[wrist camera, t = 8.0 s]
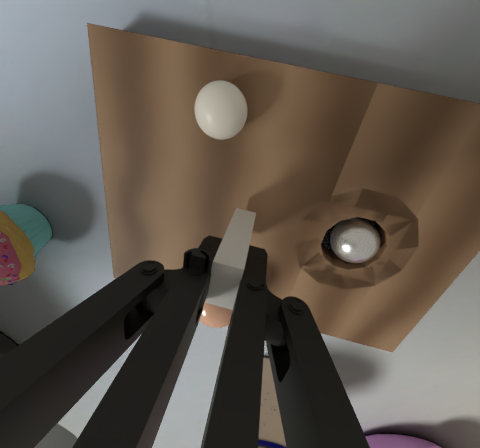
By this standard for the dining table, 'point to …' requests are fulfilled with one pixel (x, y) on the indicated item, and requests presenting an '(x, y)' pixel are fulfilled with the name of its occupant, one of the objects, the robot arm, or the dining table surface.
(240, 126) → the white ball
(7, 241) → the cupcake
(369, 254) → the steel ball
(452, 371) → the dining table surface
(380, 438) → the teapot
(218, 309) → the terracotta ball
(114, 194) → the wooden board
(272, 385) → the teacup with lid
